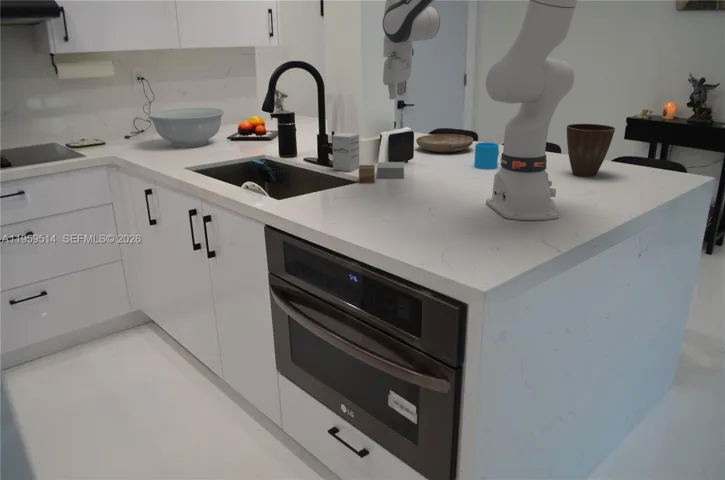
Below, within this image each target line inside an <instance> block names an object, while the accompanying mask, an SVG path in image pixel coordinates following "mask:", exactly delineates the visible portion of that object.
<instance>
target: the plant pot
mask: <svg viewBox="0 0 725 480" xmlns="http://www.w3.org/2000/svg"><path fill="white" fill-rule="evenodd" d="M615 131H616V127H613V126H611V125H606V124H598V123H596V124H595V123H572V124H568V125H566V144H567V151H568V159H569V163H570V167H571V171H572V174H573V175H574V176H578V177H579V176H580V177H587V178H588V177H595V176H596V175H597V174H598V172H599V170H600V168H601V166H602V165H603V162H604V160H605V158H606V156H607V155H608V151H609V148H610V146H611V143H612V141H613V138H614V134H615Z"/></svg>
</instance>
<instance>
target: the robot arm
mask: <svg viewBox="0 0 725 480" xmlns="http://www.w3.org/2000/svg"><path fill="white" fill-rule="evenodd" d="M385 1H386V2H385V5H384V14H383V18H382V29H383V32H384V37H383V52H382V53H383V55H382V56H383V57H384V58H386V59H384V62H383V72H382V73H383V74H382V75H383V76H382V82H383V85H384V86H387V89H388V93H389V97H388V98H389V100H396V98H397V96H399V97H400V96H404V94H405V93H404V92H405V86H406V81H408V80H409V79H410V78H411V72H412V62H413V60H412V59H413V57H414V54H415V53H414V52H415V49H414V47H413V42H419V41H428V40H432V39H433V38H435V36H436V35H437V34H438V32H439V30H440V26H441V17H440V14H439V13H438V10H437V9H436V8H435V7H433V6H431V5H432V4H433V3H434V2H435V1H436V0H385ZM578 1H579V0H528V4H527V7H526V11H525V14H524V17H523V21H522V25H521V27H520V30H519V33H518V35H517V36H516V38H515V40H514V42H513V43H512V45H511V46H510V48H509V49H508V51H507V52H506V53H505V55H504V56H503V57H501V58H500V60H499V61H497V62H496V63H494V64H493V65H492V66H491V67H490V69H489V70H488V72H487V74H486V77H485V87H486V92H487V94H488V97H490V99H491V100H493V101H495V102H499V103H504V104H510V105H512V104H520V106H519V109H518V110H517V112H516V114H515V115H514V116H513V117H512V118H510V119H509V120H508V121H507V123H506V125H505V127H504V136H503V137H504V138H503V150H502V151H503V152H502V153H501V155H500V166H501V167H500V169H499V170H498V171H497V172H496V173H495V174H494V176H493V186H492V194H491V197H489V198H486V200H485V204H486V205H487V206H489V207H490V208H492V209H493V210H494V211H495V212H497V213H498V214H499V215H500V216H502V217H503V218H506V219H510V220H518V221H519V220H520V221H521V220H522V221H543V220H544V221H545V220H554V219H558V218H559V213H558V210H557V206H556V203H555V200H554V199H553V198H555V197H556V195H557V190H556V189H557V188H554V187H552V186H553V185H552V184H553V181H552V180H549V173H548V172H547V171H546V170H547V163H548V162H547V154H546V147H547V140H548V133H549V127H550V124H551V120H552V118H553V116H554V113H555V111H556V109H557V108H558V105H559V104H560V103H561V101H562V100H563V99H564V98H565V96H567V95H568V94H569V93H570V92H571V90H572V88H573V86H574V83H575V71H574V69H573V67H572V65H571V64H570V63H569V62H568V61H566V60H561V59H559V58H558V59H557V58H553V57H549V56H550V54H551V53H552V52H553V51H554V50H555V49H556V48H557V47H559V46H560V45H562V43H563V42H564V41H565V40H566V38H567V36H568V33H569V30H570V28H571V23H572V21H573V17H574V13H575V11H576V7H577V5H578ZM397 85H398V86H397ZM396 89H397V93H396Z"/></svg>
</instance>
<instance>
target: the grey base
mask: <svg viewBox="0 0 725 480" xmlns="http://www.w3.org/2000/svg"><path fill="white" fill-rule="evenodd" d="M376 178H377V179H378V180H379V179H387V180H388V179H392V180H393V179H396V180H397V179H399V180H401V179H405V161H398V162H397V161H378V163H377V167H376Z"/></svg>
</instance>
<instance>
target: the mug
mask: <svg viewBox="0 0 725 480" xmlns="http://www.w3.org/2000/svg"><path fill="white" fill-rule="evenodd" d="M499 148H500V147H499V144H498V143H495V142H485V141H484V142H477V143H475V147H474V151H475V152H474V161H473V162H474V163H473V164H474V168H476V169H479V170H493V169H497V168H498V160H499V155H500V150H499Z"/></svg>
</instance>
